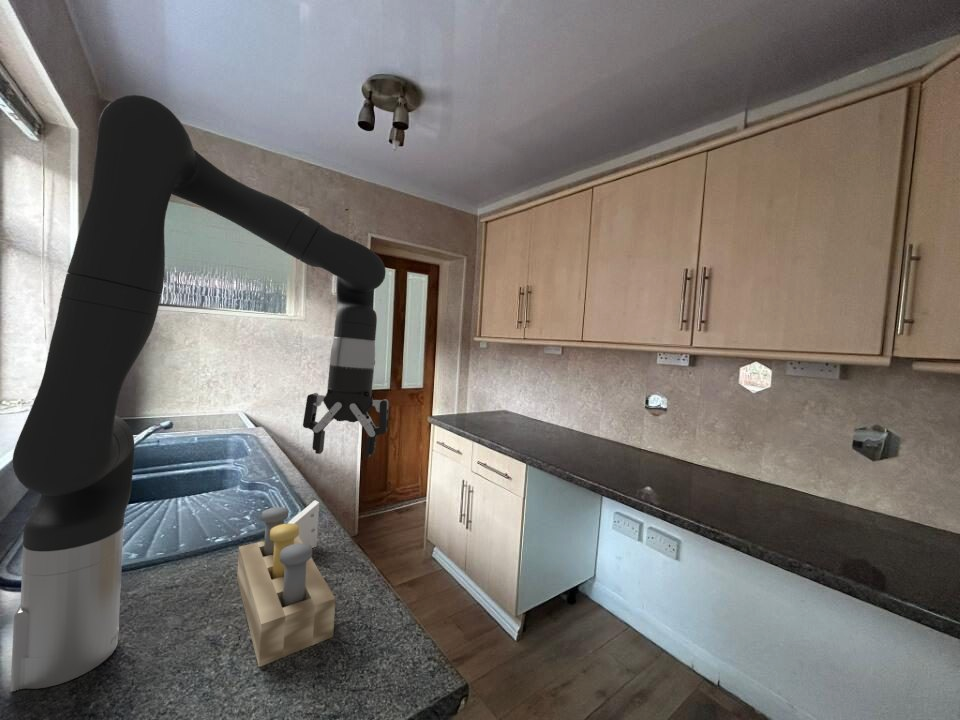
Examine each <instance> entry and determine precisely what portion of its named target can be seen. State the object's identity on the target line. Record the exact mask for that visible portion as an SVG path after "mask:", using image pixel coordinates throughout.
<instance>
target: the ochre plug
mask: <svg viewBox="0 0 960 720" xmlns="http://www.w3.org/2000/svg"><path fill="white" fill-rule="evenodd" d="M298 535H299V526H298V525H296V524H288V523H284V524H281V525H278V526H275V527H273V528H272V529H271V530H270V539H271V540H272V541H274V555H273V572H272V580H273V579H276V578H280V577H283V576H284V570H285V564H282V563H281V562H280V552H281V551H282V549H284V548H285V547H287V546H290V545H293V544H294V538H296V537H297V536H298Z"/></svg>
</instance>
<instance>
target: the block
mask: <svg viewBox="0 0 960 720" xmlns="http://www.w3.org/2000/svg"><path fill="white" fill-rule="evenodd" d="M264 541H265V540H263V541H262V540H261V541H258V542H254V543H249V544H245V545H239V547H238V554H237V555H238V556H237V557H238V558H237V571H236V572H237V575H236V580H237V584H238V588H239V592H240V595H241V600H242V603H243V609H244V612H245V616H246V620H247V621H246V622H247V624H248V628H249V633H250V637H251V641H252V646H253V650H254V652H255V657H256V662H257V666H258V668H260V667H263V666H265V665H268V664H270V663H273V662H275V661H277V660H280V659H282V658H285V657H288V656H290V655H292V654H295V653H297V652H299V651H301V650H305V649H307V648H308V647H311V646H314V645H316V644H320V643H322V642H324V641H326V640H328V639H329V640H330V638H333V637H334V628H335V627H334V626H335V613H336V612H335V609H336V596H335V595H334V593H333V592H332V590H331V589H330V587H329V585H328V583H327V582H326V579H324V576H323V575H322V573H321V572H320V570H319V568H318V567H317V565H316V563H315V561H314V559H313V558H312V557H311V558H310V559H309V560H308V561H307V562H306V579H305V595H304V601H301V602H298V603H295V604H292V605H289V606H286V607H284V608H282V604H283V587H284V576H283V577H280V578H276V579H273V580H272V572H273V555H274V554H273V555H269V556H265V557H264ZM299 543H302V541H301V540H300V538H299V536H297V537H296V538H294V544H299Z"/></svg>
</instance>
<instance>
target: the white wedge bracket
mask: <svg viewBox="0 0 960 720" xmlns="http://www.w3.org/2000/svg"><path fill="white" fill-rule="evenodd" d="M319 509H320V502H319V501H317V500H316V499H315V500H313V501H312V502H310V503H309V505H307V506H306V507H304V509H303V510H302V511H300V512H299V513H297V514H296V515H295V516H294V517H293V518H292V519H290V520H289V521H288V522H287V524H296V525H298V526H299V535H298V536H299V538H300V540H301V541H302V543H304V544H308V545H310V546H311V547H312V548H313V547H316V546H317V543H318V530H319V513H320V511H319Z"/></svg>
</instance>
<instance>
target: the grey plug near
mask: <svg viewBox="0 0 960 720" xmlns="http://www.w3.org/2000/svg"><path fill="white" fill-rule="evenodd" d="M312 556H313V549H312V547H311V546H310V545H308V544H304V543H299V544H293V545H290V546H287V547H285V548H284V549H282V551H281V552H280V562H281V563H282V564H285V570H284V587H283V604H282V608H284V607H286V606H289V605H292V604H295V603H298V602H301V601H304V595H305V579H306V562H307V561H308V560H309V559H310V558H312Z"/></svg>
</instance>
